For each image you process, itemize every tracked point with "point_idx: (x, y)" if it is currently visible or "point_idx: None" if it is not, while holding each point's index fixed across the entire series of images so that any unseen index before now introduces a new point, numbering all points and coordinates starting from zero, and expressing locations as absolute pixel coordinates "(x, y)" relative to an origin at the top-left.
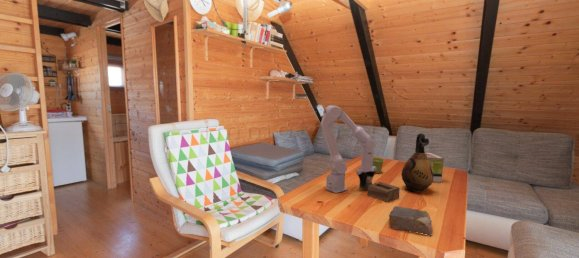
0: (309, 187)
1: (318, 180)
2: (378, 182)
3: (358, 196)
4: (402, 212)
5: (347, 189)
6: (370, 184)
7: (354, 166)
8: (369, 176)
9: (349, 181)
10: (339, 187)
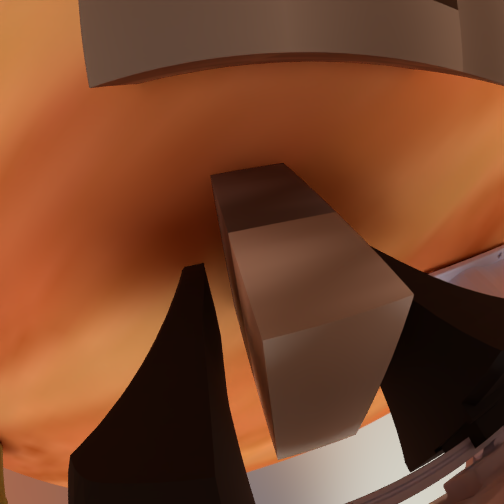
0: None
1: (375, 418)
2: (198, 45)
3: (483, 111)
4: None
5: (434, 273)
6: (277, 206)
7: (62, 484)
8: (291, 387)
9: (235, 414)
10: (498, 280)
